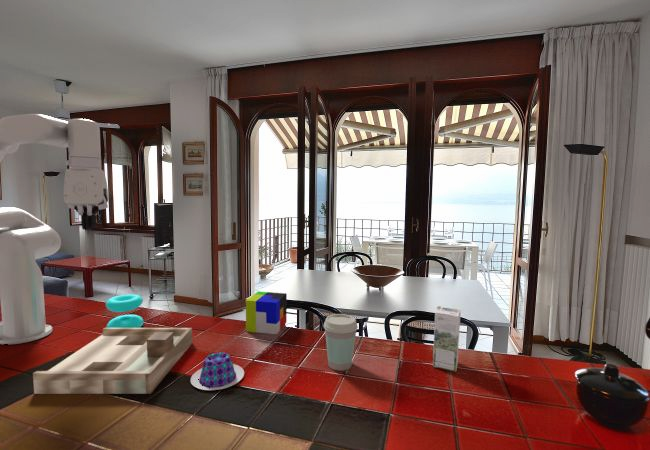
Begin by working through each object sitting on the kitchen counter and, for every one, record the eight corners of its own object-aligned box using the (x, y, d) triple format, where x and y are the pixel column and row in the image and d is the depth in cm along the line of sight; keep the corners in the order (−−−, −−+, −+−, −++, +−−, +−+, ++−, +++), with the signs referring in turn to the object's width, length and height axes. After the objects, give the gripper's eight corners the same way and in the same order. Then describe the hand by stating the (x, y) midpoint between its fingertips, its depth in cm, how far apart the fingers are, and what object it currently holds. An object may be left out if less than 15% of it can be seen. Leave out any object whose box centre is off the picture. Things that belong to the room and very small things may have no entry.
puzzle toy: (276, 334, 106) (276, 302, 105) (245, 331, 108) (245, 300, 107) (286, 322, 116) (286, 293, 115) (258, 320, 118) (258, 291, 117)
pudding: (238, 362, 89) (238, 342, 89) (249, 385, 78) (249, 363, 78) (188, 372, 84) (187, 351, 83) (193, 398, 73) (192, 375, 73)
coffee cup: (363, 364, 88) (364, 319, 87) (341, 377, 82) (342, 328, 81) (338, 353, 94) (338, 310, 93) (316, 365, 88) (316, 319, 86)
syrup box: (458, 362, 90) (461, 308, 89) (456, 373, 85) (459, 315, 83) (435, 357, 92) (437, 304, 91) (432, 367, 87) (434, 311, 86)
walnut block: (147, 357, 84) (146, 339, 84) (155, 349, 89) (155, 332, 88) (166, 357, 84) (165, 339, 84) (173, 349, 89) (173, 332, 88)
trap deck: (34, 393, 74) (32, 373, 73) (105, 342, 99) (104, 327, 98) (150, 393, 74) (150, 373, 74) (192, 343, 99) (192, 327, 99)
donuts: (114, 304, 101) (99, 298, 107) (116, 338, 102) (101, 329, 108) (148, 296, 109) (133, 291, 115) (149, 327, 110) (134, 320, 116)
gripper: (48, 163, 94) (52, 230, 96) (104, 164, 95) (107, 230, 96) (68, 165, 102) (71, 227, 103) (119, 166, 102) (122, 228, 104)
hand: (88, 228), depth 100 cm, fingers closed
